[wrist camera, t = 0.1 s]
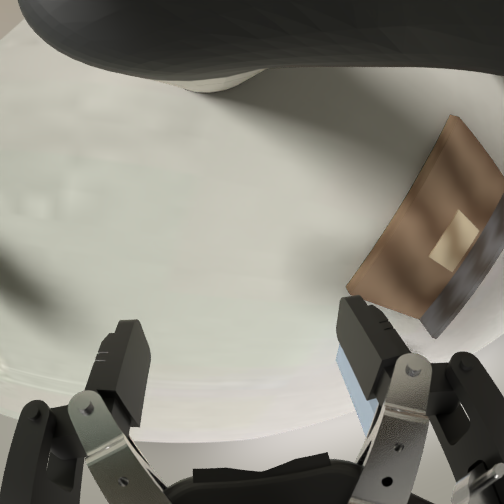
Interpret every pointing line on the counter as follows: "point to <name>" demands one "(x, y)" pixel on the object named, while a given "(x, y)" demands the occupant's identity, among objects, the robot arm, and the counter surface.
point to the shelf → (439, 234)
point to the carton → (356, 392)
